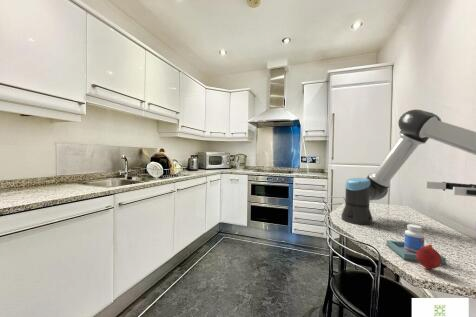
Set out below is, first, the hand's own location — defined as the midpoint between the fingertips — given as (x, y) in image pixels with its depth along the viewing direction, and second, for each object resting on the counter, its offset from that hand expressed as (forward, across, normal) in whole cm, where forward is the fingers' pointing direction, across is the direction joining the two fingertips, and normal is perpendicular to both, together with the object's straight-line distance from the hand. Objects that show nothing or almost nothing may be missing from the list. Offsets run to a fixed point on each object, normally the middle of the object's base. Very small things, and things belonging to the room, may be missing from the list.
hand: (438, 187), depth 77 cm
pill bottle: (+9, -5, -24) cm, 26 cm away
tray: (+9, -5, -24) cm, 27 cm away
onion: (+11, -16, -24) cm, 31 cm away
